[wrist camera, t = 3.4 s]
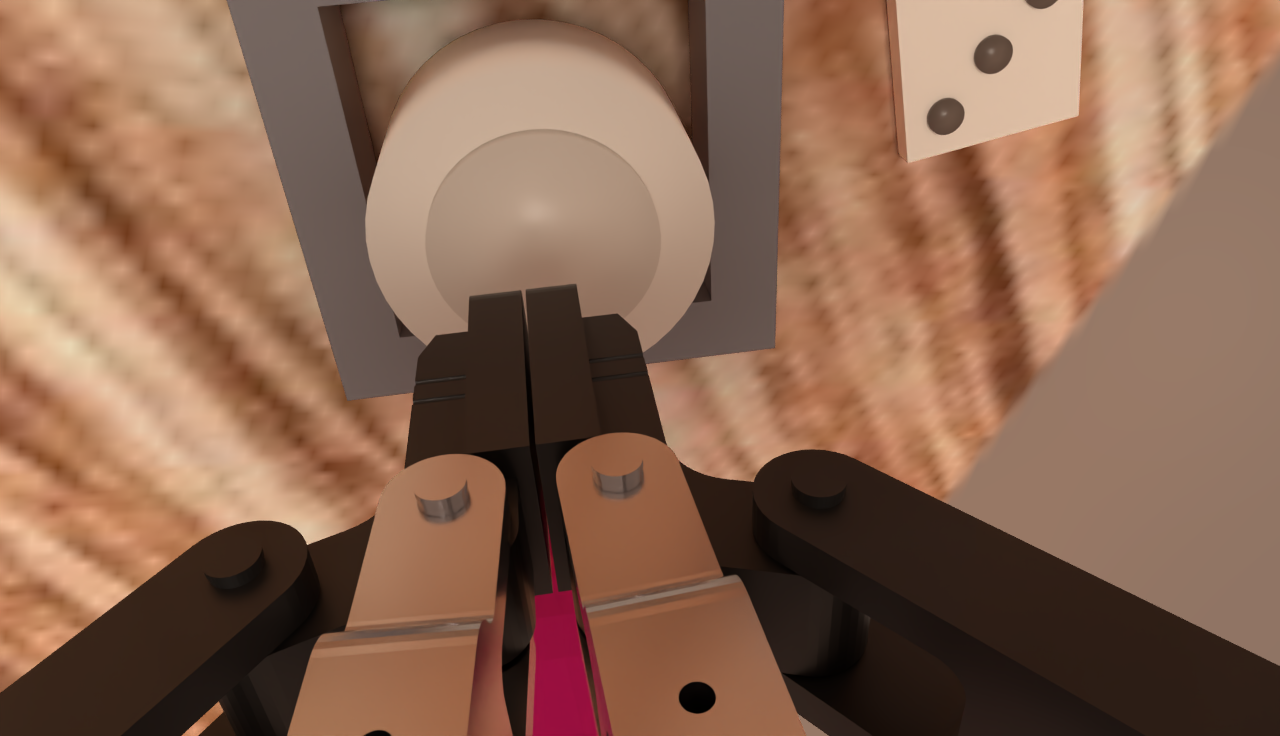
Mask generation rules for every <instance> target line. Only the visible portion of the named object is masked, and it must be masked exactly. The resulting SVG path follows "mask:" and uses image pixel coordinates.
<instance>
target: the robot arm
mask: <svg viewBox="0 0 1280 736" xmlns="http://www.w3.org/2000/svg"><path fill="white" fill-rule="evenodd" d="M526 307H527V322H528V328H527V322H526V315H525V308H524V302H523V296H522V291H521V290H517V291H508V292H500V293H491V294H483V295H474V296H470V297H469V311H468V331H467V332H458V333H450V334H441V335H435V337H434V338H433V339H432V340H431V342H430V343H429V344H428V345H427V347H426V348H425V349H424V350H423V352H422V353H421V354H420V355H419V357H418V361H417V369H416V377H415V384H416V386H414V394H413V405H412V411H411V419H410V427H409V436H408V444H407V452H406V460H405V469H404V470H403V471H401V472H400V473H398V474H397V475H396V476H395V477H394V478H393V479H392V480H391V481H390V482H389V483H388V484H387V485H386V487H385V488H384V490H383V492H382V494H381V496H380V499H379V503H378V507H377V510H376V514H375V516H373V517H372V518H370V519H369V520H367V521H365V522H363V523H362V524H360V525H358V526H356V527H354V528H351V529H349V530H346V531H344V532H341V533H339V534H336V535H333V536H330V537H328V538H325V539H322V540H320V541H317V542H314V543H311V544H309V545H307V544H306V541H305V540H304V538H303V536H302V535H301V534H300V533H299V532H298V531H297V530H296V529H295V528H293V527H291V526H290V525H287V524H284V523H281V522H275V521H252V522H246V523H241V524H237V525H234V526H230V527H227V528H225V529H222V530H220V531H218V532H215V533H213V534H211V535H210V536H208V537H206V538H204V539H202V540H201V541H199V542H198V543H197V544H195V545H194V546H192V547H191V548H190V549H188V550H187V551H186V552H184V553H183V554H182V555H180V556H179V557H178V558H177V559H175V560H174V561H173V562H171V563H170V564H169V565H167V566H166V567H165V568H163V569H162V570H161V571H160V572H158V573H157V574H156V575H154V576H153V577H152V578H150V579H149V580H148V581H146V582H145V583H144V584H142V585H141V586H140V587H139V588H137V589H136V590H135V591H133V592H132V593H131V594H129V595H128V596H127V597H125V598H124V599H123V600H122V601H120V602H119V603H118V604H116V605H115V606H114V607H112V608H111V609H110V610H108V611H107V612H106V613H105V614H103V615H102V616H101V617H99V618H98V619H97V620H95V621H94V622H93V623H91V624H90V625H89V626H87V627H86V628H85V629H84V630H82V631H81V632H80V633H78V634H77V635H76V636H74V637H73V638H72V639H70V640H69V641H68V642H67V643H65V644H64V645H63V646H61V647H60V648H59V649H57V650H56V651H55V652H53V653H52V654H51V655H50V656H48V657H47V658H46V659H44V660H43V661H42V662H40V663H39V664H38V665H36V666H35V667H34V668H32V669H31V670H30V671H29V672H27V673H26V674H25V675H23V676H22V677H21V678H19V679H18V680H17V681H15V682H14V683H13V684H12V685H10V686H9V687H8V688H6V689H5V690H4V691H2V692H1V693H0V736H181V735H183V734H184V733H185V732H186V731H187V730H188V729H189V728H190V727H191V726H192V725H193V724H194V723H196V722H197V721H198V720H199V719H200V718H201V717H202V716H203V715H204V714H205V713H206V712H207V711H209V710H210V709H211V708H212V707H213V706H214V705H215V704H216V703H217V702H218V701H219V703H220V705H221V707H222V709H223V711H224V712H223V713H222V714H221V715H220V716H219V717H218V718H217V719H216V720H215V721H214V722H212V723H211V724H210V725H209V726H208V727H207V728H206V729H205V730H204V731H203V732H202V733H201V734H200V735H199V736H533V712H534V688H535V664H536V647H535V641H534V635H533V634H534V630H535V625H536V612H535V596H537V595H544V594H551V593H553V586H552V573H551V559H550V546H549V534H550V541H551V547H552V554H553V560H554V567H555V573H556V579H557V586H558V592H562V591H569V590H572V595H573V602H574V609H575V615H576V622H577V629H578V636H579V643H580V649H581V654H582V660H583V665H584V670H585V675H586V680H587V685H588V690H589V695H590V700H591V705H592V710H593V716H594V721H595V726H596V731H597V736H806V734H805V731H804V729H803V726H802V724H801V722H800V719H799V716H798V714H799V715H801V716H802V717H803V718H805V719H806V720H808V721H809V722H810V723H812V724H813V725H815V726H816V727H818V728H819V729H820V730H822V731H823V732H824V733H826V734H827V735H829V736H1280V666H1278V665H1276V664H1274V663H1272V662H1270V661H1268V660H1266V659H1264V658H1262V657H1260V656H1258V655H1256V654H1254V653H1252V652H1250V651H1248V650H1246V649H1244V648H1241V647H1239V646H1237V645H1235V644H1233V643H1231V642H1229V641H1227V640H1225V639H1223V638H1221V637H1219V636H1217V635H1215V634H1212V633H1211V632H1208V631H1207V630H1205V629H1202V628H1201V627H1198V626H1196V625H1194V624H1192V623H1190V622H1188V621H1186V620H1184V619H1181V618H1180V617H1177V616H1176V615H1174V614H1172V613H1170V612H1168V611H1166V610H1164V609H1161V608H1159V607H1157V606H1155V605H1153V604H1151V603H1149V602H1147V601H1145V600H1143V599H1141V598H1139V597H1137V596H1135V595H1133V594H1131V593H1129V592H1127V591H1124V590H1122V589H1121V588H1118V587H1116V586H1114V585H1112V584H1110V583H1108V582H1106V581H1104V580H1102V579H1100V578H1098V577H1096V576H1094V575H1092V574H1090V573H1088V572H1086V571H1084V570H1081V569H1080V568H1077V567H1075V566H1073V565H1071V564H1069V563H1067V562H1065V561H1063V560H1061V559H1059V558H1057V557H1055V556H1053V555H1051V554H1049V553H1047V552H1045V551H1043V550H1041V549H1038V548H1036V547H1034V546H1032V545H1030V544H1028V543H1026V542H1024V541H1022V540H1020V539H1018V538H1016V537H1014V536H1012V535H1010V534H1007V533H1006V532H1003V531H1002V530H1000V529H997V528H995V527H993V526H991V525H989V524H987V523H985V522H983V521H981V520H979V519H977V518H975V517H973V516H971V515H969V514H967V513H965V512H962V511H961V510H959V509H956V508H954V507H952V506H950V505H948V504H946V503H944V502H942V501H940V500H938V499H936V498H934V497H932V496H930V495H928V494H926V493H924V492H922V491H920V490H918V489H915V488H913V487H911V486H909V485H907V484H905V483H903V482H901V481H899V480H897V479H895V478H893V477H891V476H889V475H887V474H885V473H883V472H881V471H879V470H876V469H874V468H872V467H870V466H868V465H866V464H864V463H862V462H860V461H858V460H856V459H854V458H851V457H849V456H847V455H844V454H840V453H837V452H832V451H826V450H800V451H794V452H790V453H786V454H783V455H781V456H778V457H776V458H774V459H772V460H771V461H769V462H768V463H767V464H765V465H764V466H763V467H762V468H761V469H760V471H759V472H758V474H757V475H756V477H755V480H754V482H748V481H738V480H728V479H721V478H715V477H711V476H707V475H704V474H701V473H699V472H696V471H694V470H692V469H690V468H688V467H687V466H685V465H684V464H682V463H681V462H680V461H678V459H677V457H676V455H675V453H674V452H673V451H672V450H671V449H670V448H669V447H668V446H667V444H666V441H665V437H664V434H663V430H662V426H661V422H660V418H659V414H658V410H657V406H656V402H655V398H654V394H653V390H652V387H651V383H650V379H649V375H648V371H647V367H646V363H645V359H644V357H643V351H642V347H641V344H640V340H639V336H638V332H637V330H636V329H635V328H633V327H632V326H631V325H630V324H629V323H628V322H627V321H626V320H624V319H623V318H622V317H621V316H620V315H619V314H618V313H616V314H608V315H600V316H591V317H583V318H582V315H581V309H580V303H579V297H578V291H577V285H576V284H567V285H559V286H550V287H541V288H533V289H526ZM548 528H549V532H548ZM797 713H798V714H797Z"/></svg>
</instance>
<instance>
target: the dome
mask: <svg viewBox="0 0 1280 736" xmlns="http://www.w3.org/2000/svg"><path fill="white" fill-rule="evenodd" d="M714 226H715V220H714V208H713V200H712V196H711V191H710V187H709V183H708V180H707V177H706V175H705V172H704V170H703V167H702V164H701V162H700V160H699V158H698V156H697V154H696V152H695V149H694V147H693V145H692V143H691V141H690V139H689V137H688V135H687V133H686V131H685V129H684V127H683V125H682V123H681V121H680V119H679V117H678V115H677V113H676V110H675V108H674V106H673V104H672V103H671V101H670V99H669V97H668V96H667V94H666V92H665V90H664V88H663V87H662V86H661V84H660V83H659V82H658V80H657V79H656V78H655V76H654V75H653V74H652V72H651V71H650V70H649V69H648V68H647V67H646V66H645V65H644V64H643V63H642V62H641V61H640V60H639V59H638V58H637V57H635V56H634V55H633V54H631V53H630V52H629V51H627V50H626V49H625V48H623V47H622V46H621V45H619V44H618V43H616V42H614V41H612V40H610V39H609V38H607V37H605V36H603V35H602V34H599V33H596V32H594V31H591V30H589V29H586V28H584V27H581V26H577V25H573V24H569V23H565V22H561V21H551V20H542V19H529V20H514V21H508V22H502V23H496V24H493V25H490V26H486V27H483V28H480V29H477V30H474V31H472V32H470V33H468V34H466V35H464V36H462V37H459V38H457V39H456V40H454V41H453V42H451V43H450V44H448V45H447V46H445V47H443V48H442V49H440V50H439V51H438V52H437V53H436V54H434V55H433V56H432V57H431V58H430V59H429V60H428V61H426V62H425V63H424V64H423V65H422V66H421V68H420V69H419V70H418V71H417V72H416V74H415V75H414V76H413V77H412V78H411V79H410V81H409V82H408V84H407V86H406V87H405V89H404V90H403V92H402V94H401V95H400V97H399V99H398V101H397V104H396V106H395V108H394V111H393V113H392V115H391V118H390V122H389V125H388V129H387V132H386V135H385V139H384V142H383V146H382V149H381V153H380V156H379V159H378V163H377V166H376V170H375V173H374V176H373V180H372V184H371V187H370V191H369V195H368V200H367V208H366V217H365V227H366V243H367V249H368V254H369V260H370V263H371V266H372V269H373V272H374V275H375V278H376V281H377V283H378V285H379V287H380V289H381V291H382V293H383V295H384V297H385V299H386V301H387V302H388V304H389V305H390V307H391V308H392V310H393V311H394V313H395V314H396V316H397V317H398V318H399V319H400V320H401V321H402V323H403V324H404V325H405V326H406V327H407V328H408V329H409V330H410V332H411V333H413V334H414V335H415V336H416V337H417V338H418V339H419V340H421V341H422V342H423V343H424V344H425V345H426V346H427V345H428V344H429V343H430V342H431V340H432V339H433V338H434V337H435V335H441V334H450V333H458V332H467V331H468V311H469V297H470V296H474V295H483V294H491V293H500V292H508V291H517V290H521V291H522V296H523V302H524V308H525V315H526V322H527V307H526V289H533V288H541V287H550V286H559V285H567V284H576V285H577V291H578V297H579V303H580V309H581V315H582V318H583V317H591V316H600V315H608V314H616V313H618V314H619V315H620V316H621V317H622V318H623V319H624V320H626V321H627V322H628V323H629V324H630V325H631V326H632V327H633V328H635V329H636V330H637V332H638V336H639V340H640V344H641V347H642V351H643V352H645V351H646V350H647V349H649V348H650V347H652V346H653V345H654V344H656V343H657V342H658V341H659V340H660V339H661V338H662V337H663V336H665V335H666V334H667V333H668V332H669V331H670V330H671V329H672V328H673V327H674V326H675V324H676V323H677V322H678V321H679V320H680V319H681V317H682V316H683V315H684V314H685V312H686V311H687V309H688V308H689V306H690V305H691V303H692V302H693V300H694V299H695V297H696V295H697V293H698V291H699V289H700V287H701V285H702V283H703V281H704V278H705V275H706V272H707V269H708V266H709V263H710V258H711V253H712V248H713V243H714ZM527 328H528V322H527Z"/></svg>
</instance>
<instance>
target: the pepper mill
mask: <svg viewBox="0 0 1280 736" xmlns="http://www.w3.org/2000/svg"><path fill="white" fill-rule="evenodd" d="M548 532H549V528H548ZM549 546H550V559H551V573H552V586H553V593H551V594H544V595H537V596H535V612H536V625H535V630H534V634H533V635H534V641H535V647H536V664H535V688H534V712H533V736H597V731H596V726H595V721H594V716H593V710H592V705H591V700H590V695H589V690H588V685H587V680H586V675H585V670H584V665H583V660H582V654H581V649H580V643H579V636H578V629H577V622H576V615H575V609H574V602H573V595H572V590H569V591H562V592H558V586H557V579H556V573H555V567H554V560H553V554H552V547H551V541H550V534H549Z"/></svg>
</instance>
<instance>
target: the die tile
mask: <svg viewBox="0 0 1280 736" xmlns="http://www.w3.org/2000/svg"><path fill="white" fill-rule="evenodd" d="M886 1H887V14H888V27H889V40H890V52H891V65H892V78H893V90H894V103H895V116H896V129H897V141H898V154H899V155H900V156H901V157H902V158H903V159H904V160H905V161H906V162H907V163H911V162H914V161H918V160H921V159H925V158H929V157H932V156H936V155H939V154H943V153H947V152H950V151H954V150H957V149H961V148H965V147H968V146H972V145H975V144H979V143H983V142H986V141H990V140H993V139H997V138H1001V137H1004V136H1008V135H1012V134H1015V133H1019V132H1022V131H1026V130H1030V129H1033V128H1037V127H1040V126H1044V125H1048V124H1051V123H1055V122H1058V121H1062V120H1066V119H1069V118H1073V117H1076V116H1079V95H1080V71H1081V47H1082V23H1083V0H886Z"/></svg>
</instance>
